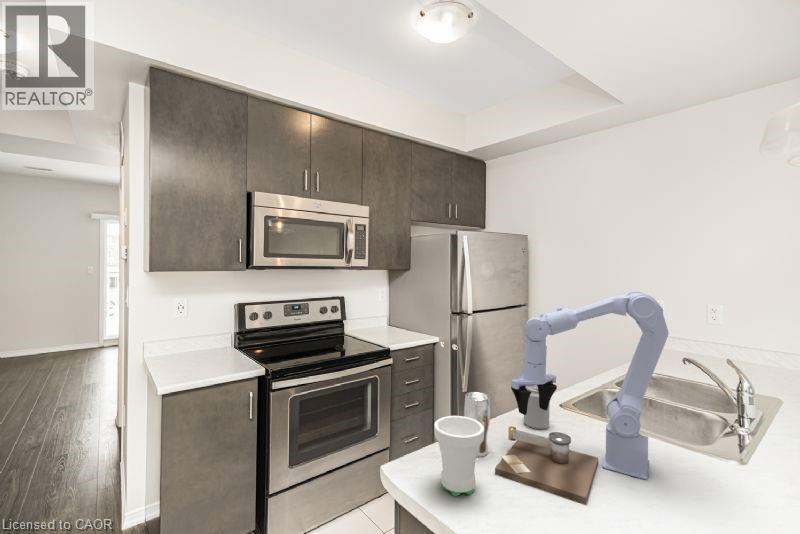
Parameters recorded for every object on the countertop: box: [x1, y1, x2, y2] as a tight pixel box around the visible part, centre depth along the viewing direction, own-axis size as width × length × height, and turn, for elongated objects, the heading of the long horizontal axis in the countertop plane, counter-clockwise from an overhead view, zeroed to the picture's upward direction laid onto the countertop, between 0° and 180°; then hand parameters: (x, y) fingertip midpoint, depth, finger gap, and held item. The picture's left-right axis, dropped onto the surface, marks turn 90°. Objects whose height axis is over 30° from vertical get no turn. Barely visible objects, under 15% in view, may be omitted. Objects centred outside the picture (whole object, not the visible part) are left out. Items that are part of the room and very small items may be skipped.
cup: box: [433, 415, 484, 497], centre depth 86 cm, size 11×11×14 cm
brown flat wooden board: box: [494, 440, 599, 506], centre depth 95 cm, size 21×20×2 cm
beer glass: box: [463, 391, 492, 458], centre depth 103 cm, size 7×7×15 cm
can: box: [523, 385, 551, 430], centre depth 119 cm, size 8×8×12 cm
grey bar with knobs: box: [507, 425, 572, 463], centre depth 99 cm, size 16×5×6 cm, turn 56°
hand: (533, 411), depth 104 cm, fingers open, 7 cm apart
